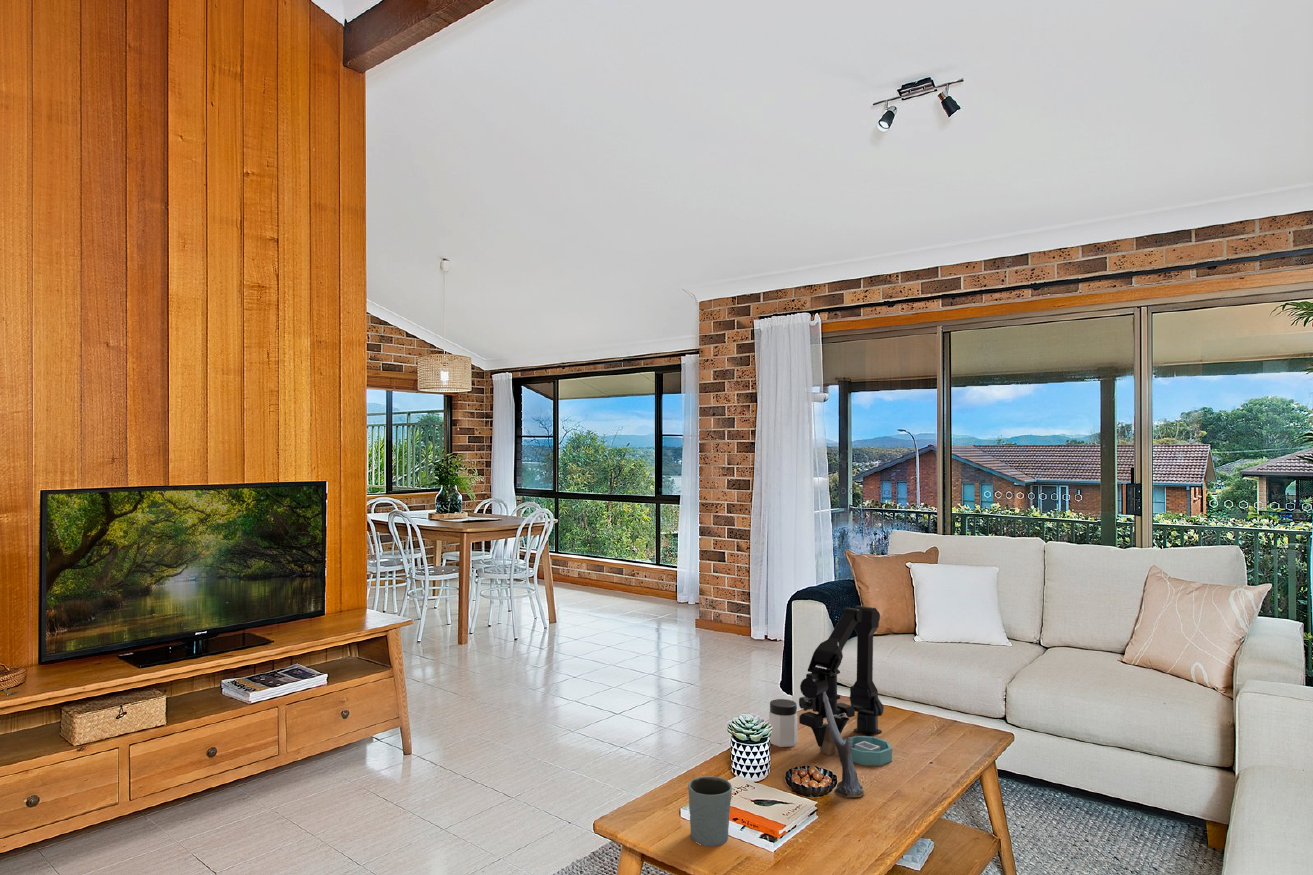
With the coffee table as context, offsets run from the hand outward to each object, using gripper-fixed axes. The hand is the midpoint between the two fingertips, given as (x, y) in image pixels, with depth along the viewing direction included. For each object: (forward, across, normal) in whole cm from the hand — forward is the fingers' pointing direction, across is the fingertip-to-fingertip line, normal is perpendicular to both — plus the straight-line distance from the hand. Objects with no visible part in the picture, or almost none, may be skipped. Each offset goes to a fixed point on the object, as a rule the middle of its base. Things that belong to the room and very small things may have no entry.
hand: (827, 744), depth 232 cm
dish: (+2, -7, +9) cm, 12 cm away
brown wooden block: (+3, 0, 0) cm, 3 cm away
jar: (+3, +4, -14) cm, 15 cm away
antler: (+3, +18, +20) cm, 27 cm away
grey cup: (+3, +62, +18) cm, 65 cm away
